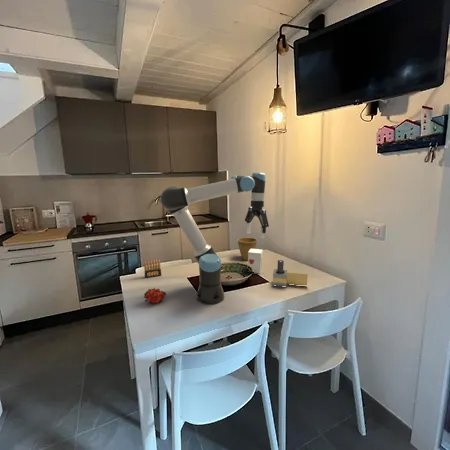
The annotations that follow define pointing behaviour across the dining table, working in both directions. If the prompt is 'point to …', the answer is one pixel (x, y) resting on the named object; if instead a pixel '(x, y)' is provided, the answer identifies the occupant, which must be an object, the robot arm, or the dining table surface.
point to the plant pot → (246, 246)
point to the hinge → (289, 278)
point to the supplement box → (255, 259)
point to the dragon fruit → (154, 295)
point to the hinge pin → (280, 266)
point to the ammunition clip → (152, 269)
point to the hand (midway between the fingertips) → (255, 235)
